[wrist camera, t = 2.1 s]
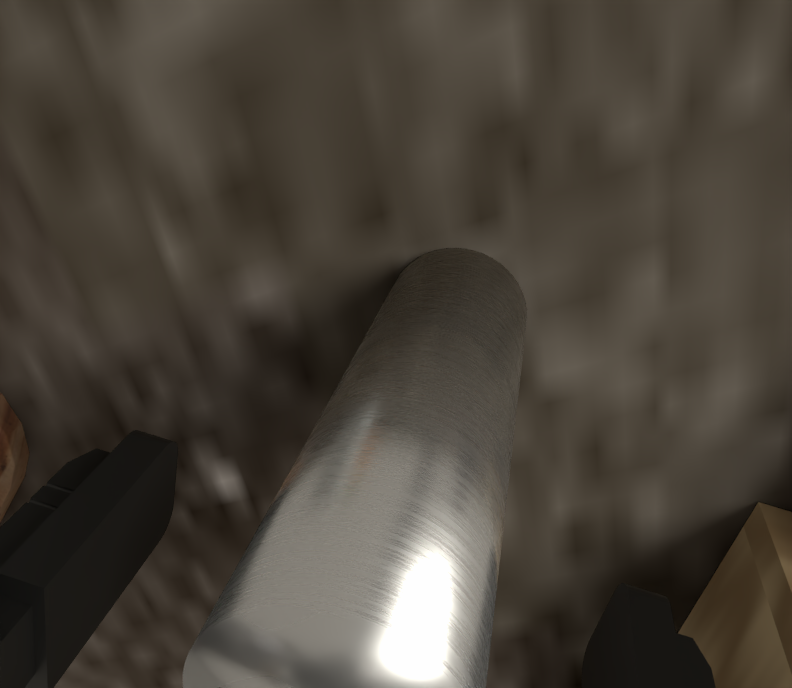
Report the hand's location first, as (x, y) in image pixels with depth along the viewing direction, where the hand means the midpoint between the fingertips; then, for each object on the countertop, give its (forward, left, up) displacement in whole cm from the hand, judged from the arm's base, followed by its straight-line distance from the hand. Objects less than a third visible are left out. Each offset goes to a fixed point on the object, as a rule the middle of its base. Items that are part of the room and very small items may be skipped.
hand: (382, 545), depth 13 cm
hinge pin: (0, 0, -9) cm, 9 cm away
